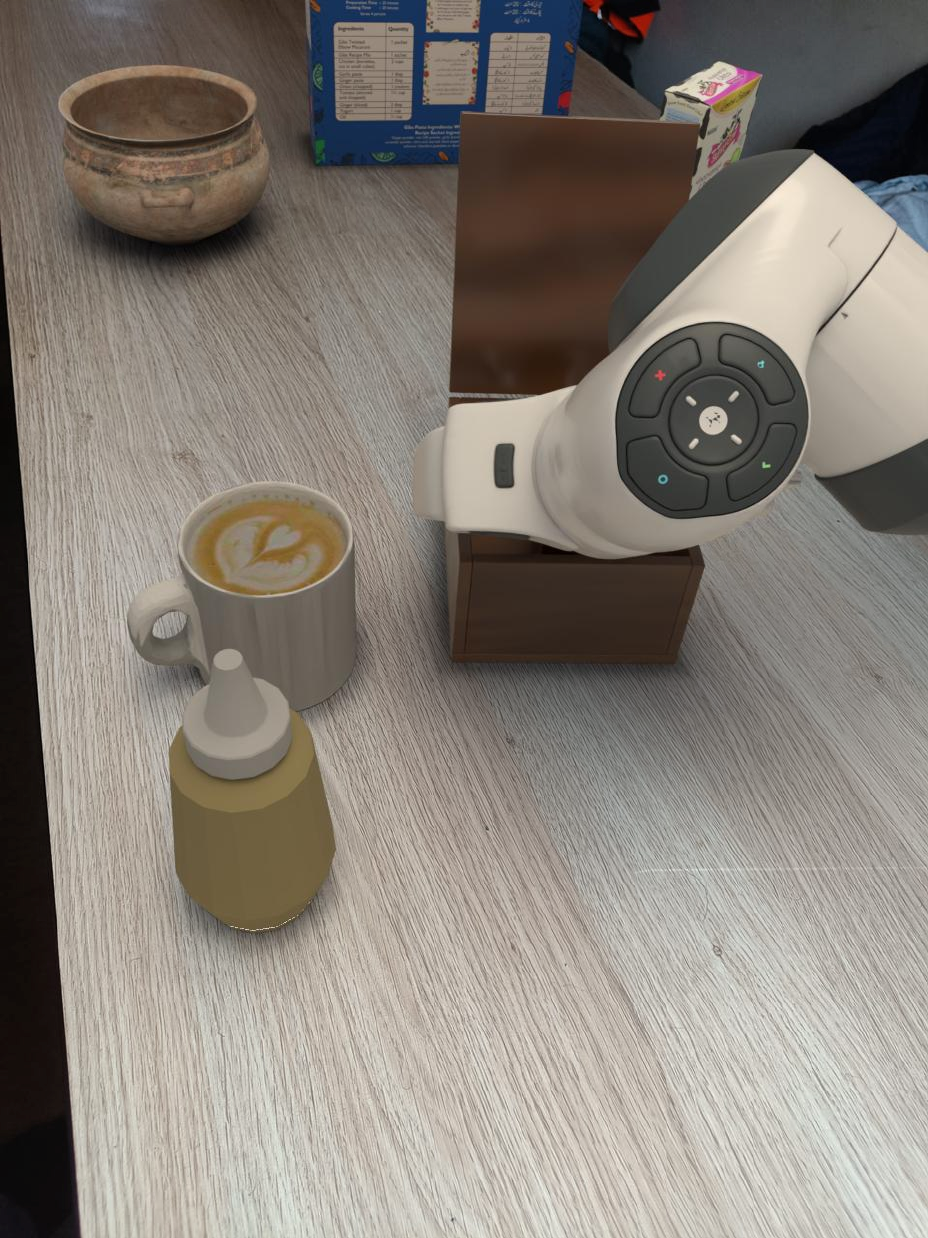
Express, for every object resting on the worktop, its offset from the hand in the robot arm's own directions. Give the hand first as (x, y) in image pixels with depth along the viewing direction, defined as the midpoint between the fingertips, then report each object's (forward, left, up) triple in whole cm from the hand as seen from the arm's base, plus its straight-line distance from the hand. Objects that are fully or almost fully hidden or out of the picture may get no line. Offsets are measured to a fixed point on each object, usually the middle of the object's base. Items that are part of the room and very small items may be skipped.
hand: (568, 496), depth 68 cm
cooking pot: (+32, -50, -8) cm, 60 cm away
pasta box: (+6, -71, -8) cm, 72 cm away
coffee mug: (+20, +7, -8) cm, 23 cm away
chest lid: (0, -12, +10) cm, 15 cm away
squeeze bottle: (+18, +23, -8) cm, 30 cm away
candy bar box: (-18, -49, -8) cm, 53 cm away
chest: (0, -1, -8) cm, 8 cm away
